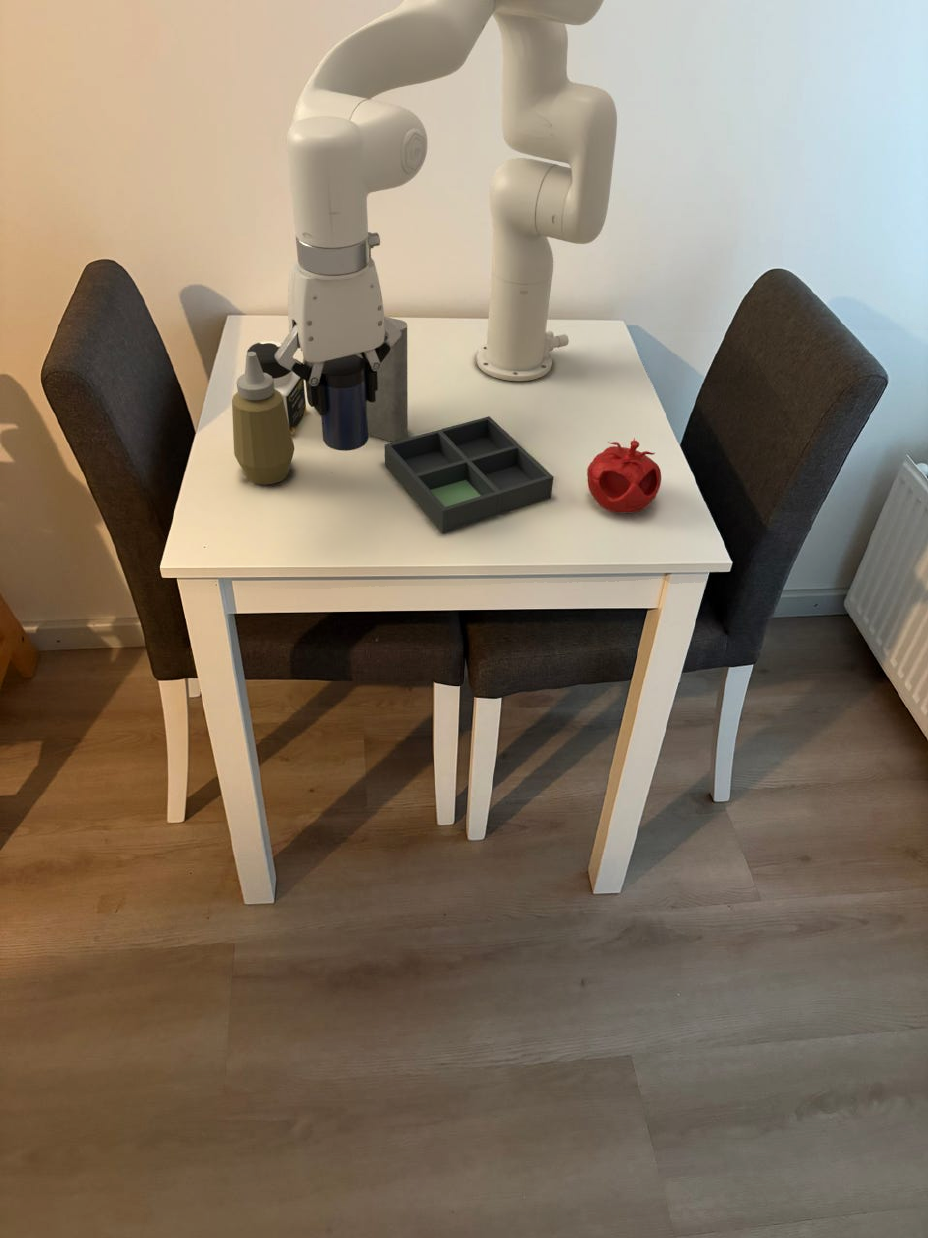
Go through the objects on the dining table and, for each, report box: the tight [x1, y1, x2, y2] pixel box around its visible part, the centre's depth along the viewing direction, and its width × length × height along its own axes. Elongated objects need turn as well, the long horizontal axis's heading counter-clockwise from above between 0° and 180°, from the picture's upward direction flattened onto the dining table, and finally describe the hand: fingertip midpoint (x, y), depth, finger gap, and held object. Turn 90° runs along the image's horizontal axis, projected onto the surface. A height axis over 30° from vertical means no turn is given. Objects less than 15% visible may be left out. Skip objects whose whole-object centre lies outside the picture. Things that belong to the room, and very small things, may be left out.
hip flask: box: [355, 316, 409, 442], centre depth 127 cm, size 16×4×20 cm, turn 58°
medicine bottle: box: [246, 340, 307, 436], centre depth 129 cm, size 7×7×12 cm
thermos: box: [320, 354, 370, 452], centre depth 106 cm, size 6×6×10 cm
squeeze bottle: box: [231, 352, 295, 485], centre depth 118 cm, size 8×8×18 cm
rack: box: [383, 415, 555, 534], centre depth 123 cm, size 17×17×4 cm
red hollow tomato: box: [586, 437, 662, 514], centre depth 120 cm, size 10×10×9 cm
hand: (343, 401), depth 106 cm, fingers closed on thermos, 5 cm apart
